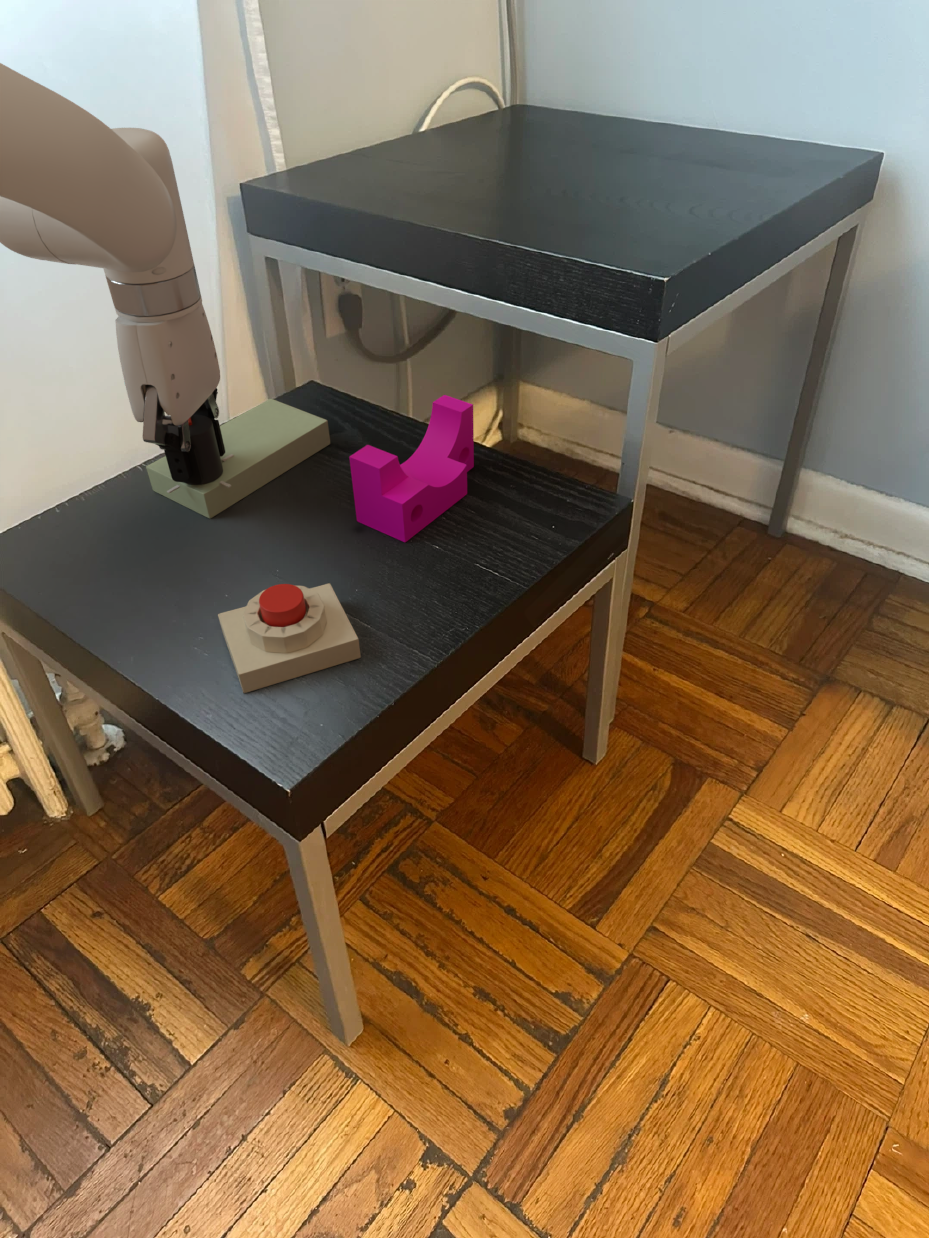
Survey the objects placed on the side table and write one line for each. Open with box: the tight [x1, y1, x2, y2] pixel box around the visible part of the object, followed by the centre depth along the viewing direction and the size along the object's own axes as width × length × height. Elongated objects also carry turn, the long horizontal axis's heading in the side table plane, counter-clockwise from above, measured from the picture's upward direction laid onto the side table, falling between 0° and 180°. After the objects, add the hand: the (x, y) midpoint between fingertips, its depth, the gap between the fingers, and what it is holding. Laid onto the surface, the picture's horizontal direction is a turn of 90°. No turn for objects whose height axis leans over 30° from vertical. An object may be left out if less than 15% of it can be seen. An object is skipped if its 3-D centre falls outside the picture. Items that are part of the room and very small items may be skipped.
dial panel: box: [145, 398, 331, 519], centre depth 95 cm, size 20×10×3 cm, turn 144°
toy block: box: [348, 394, 475, 543], centre depth 89 cm, size 15×6×8 cm, turn 144°
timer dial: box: [168, 415, 223, 485], centre depth 88 cm, size 4×4×6 cm
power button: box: [259, 583, 306, 627], centre depth 72 cm, size 4×4×2 cm
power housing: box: [217, 582, 362, 694], centre depth 74 cm, size 10×8×4 cm
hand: (199, 465), depth 90 cm, fingers closed on timer dial, 4 cm apart
